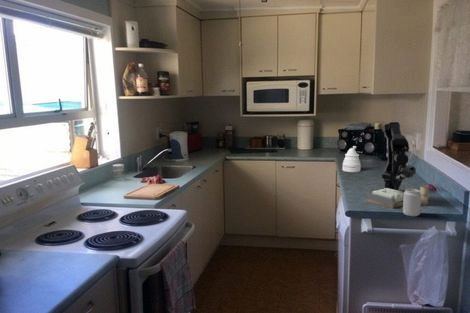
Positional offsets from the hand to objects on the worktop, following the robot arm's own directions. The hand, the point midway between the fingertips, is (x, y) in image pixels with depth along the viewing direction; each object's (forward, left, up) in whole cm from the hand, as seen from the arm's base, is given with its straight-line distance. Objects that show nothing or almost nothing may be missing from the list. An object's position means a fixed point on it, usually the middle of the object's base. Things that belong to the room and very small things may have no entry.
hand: (397, 190), depth 201 cm
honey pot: (-42, -68, -6) cm, 80 cm away
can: (+15, +19, -6) cm, 25 cm away
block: (+7, 0, -4) cm, 8 cm away
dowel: (-4, +13, -6) cm, 15 cm away
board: (+4, 0, -6) cm, 7 cm away
